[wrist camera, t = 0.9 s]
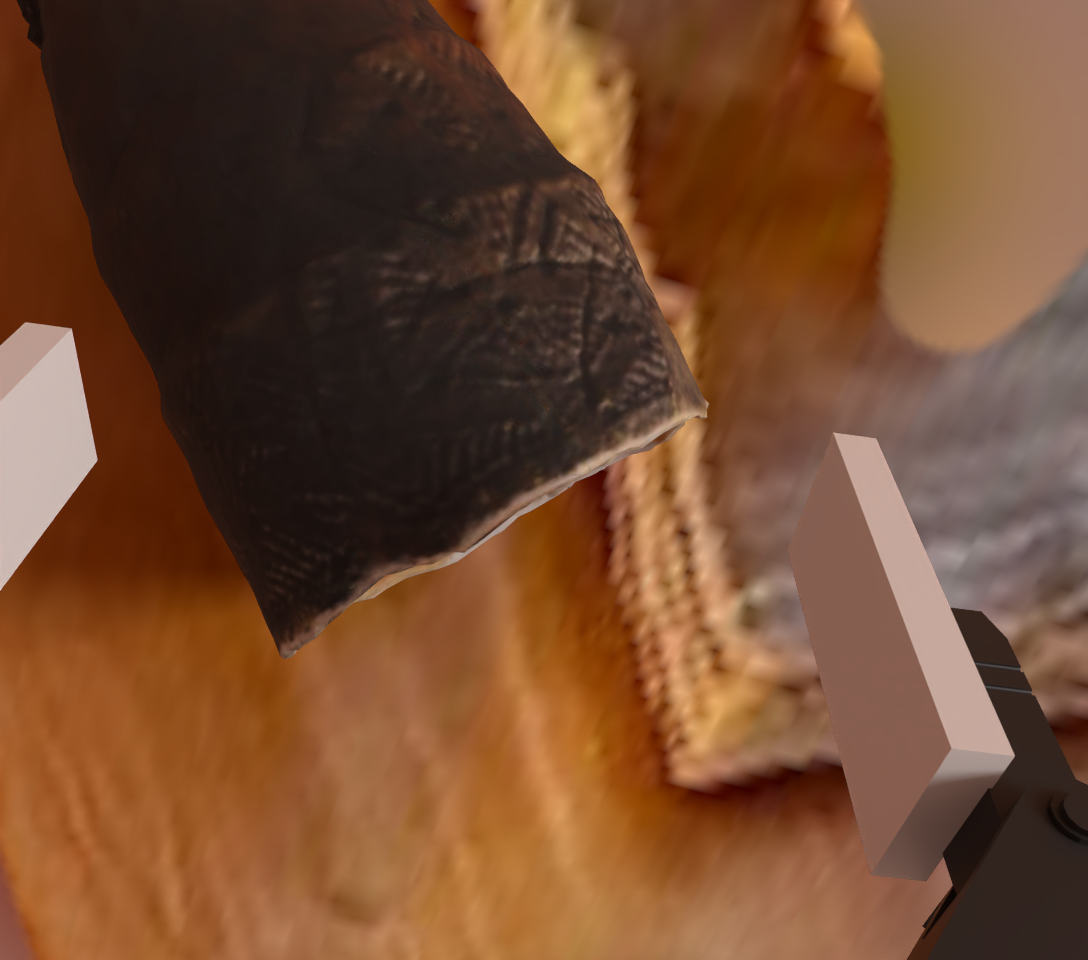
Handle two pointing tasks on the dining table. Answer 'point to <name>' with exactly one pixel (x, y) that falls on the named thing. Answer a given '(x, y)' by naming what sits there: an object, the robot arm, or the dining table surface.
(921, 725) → the robot arm
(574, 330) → the clay pot
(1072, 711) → the dining table surface
